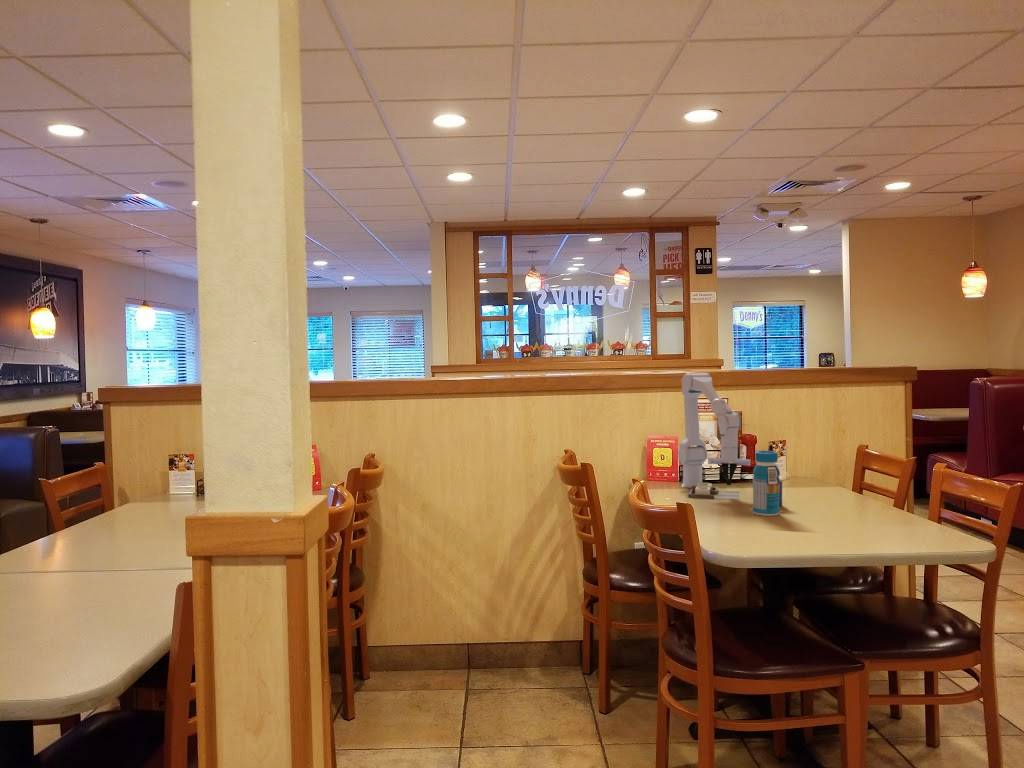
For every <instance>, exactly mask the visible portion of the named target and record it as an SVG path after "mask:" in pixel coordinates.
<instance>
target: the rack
mask: <svg viewBox="0 0 1024 768" xmlns="http://www.w3.org/2000/svg"><path fill="white" fill-rule="evenodd" d="M696 487H697V486H692V487H691V488H690V489H689V490H688V492H687V494H686V495H687V496H686V498H687V499H706V500H728V501H740V494H741V493H740V492H741V491H737V490H736V491H734V490H719V487H718V486H712V490H710V495H705V494H695V488H696Z"/></svg>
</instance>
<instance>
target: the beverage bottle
mask: <svg viewBox="0 0 1024 768" xmlns="http://www.w3.org/2000/svg"><path fill="white" fill-rule="evenodd" d="M754 454H755V457H754V459H755V463H757V464H756V465H755V466H754V468H753V470H752V474H753V477H752V480H751V481H752V505H753V506H752V513H753V514H755V515H757V516H763V517H775V516H779V515H780V506H779V487H780V480H781V479H780V474H781V473H780V469H779V468H778V466H777V465H776V464H777V463H778V459H779V458H778V452H777V451H773V450H758V451H755V453H754Z"/></svg>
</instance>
